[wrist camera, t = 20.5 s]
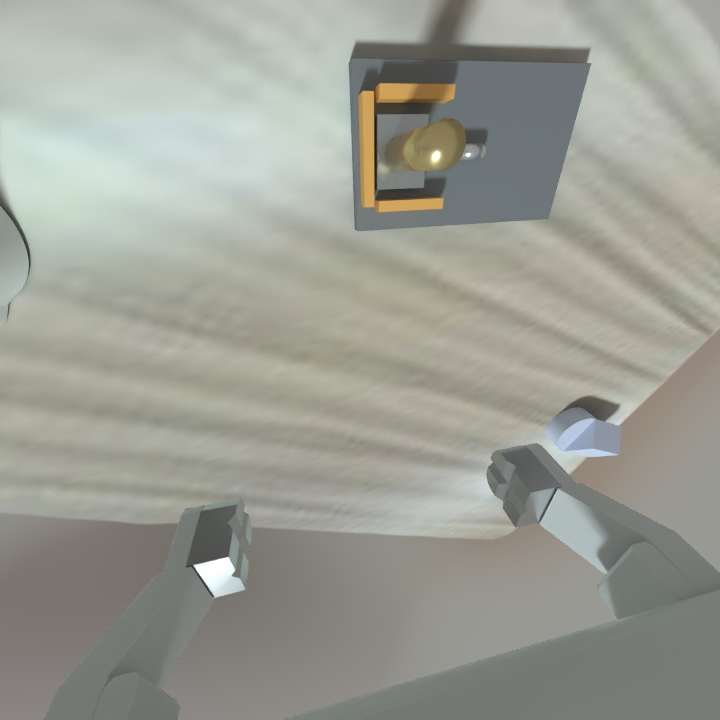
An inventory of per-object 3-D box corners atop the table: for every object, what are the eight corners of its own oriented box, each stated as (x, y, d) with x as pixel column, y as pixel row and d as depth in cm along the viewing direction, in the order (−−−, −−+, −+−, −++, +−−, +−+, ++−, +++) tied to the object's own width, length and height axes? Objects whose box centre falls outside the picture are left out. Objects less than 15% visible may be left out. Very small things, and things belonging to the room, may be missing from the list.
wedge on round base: (606, 415, 64) (567, 403, 59) (637, 438, 58) (596, 427, 53) (576, 445, 67) (537, 435, 63) (602, 469, 62) (561, 461, 57)
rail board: (355, 229, 35) (360, 234, 32) (348, 63, 27) (355, 50, 24) (539, 217, 38) (560, 220, 35) (578, 67, 31) (608, 56, 28)
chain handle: (374, 189, 31) (409, 195, 22) (374, 116, 28) (414, 88, 19) (476, 184, 33) (547, 188, 24) (486, 115, 30) (573, 89, 21)
